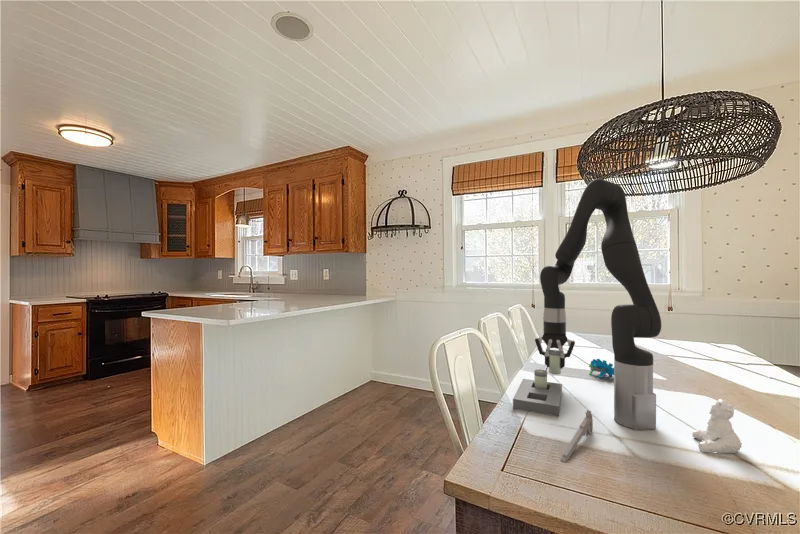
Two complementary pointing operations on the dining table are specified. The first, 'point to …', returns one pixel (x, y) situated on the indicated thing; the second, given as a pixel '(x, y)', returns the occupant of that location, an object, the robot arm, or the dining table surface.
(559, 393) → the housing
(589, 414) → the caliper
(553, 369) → the pale green canister
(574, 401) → the dining table surface
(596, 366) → the blue spiky dinosaur toy
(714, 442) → the white creature statuette
